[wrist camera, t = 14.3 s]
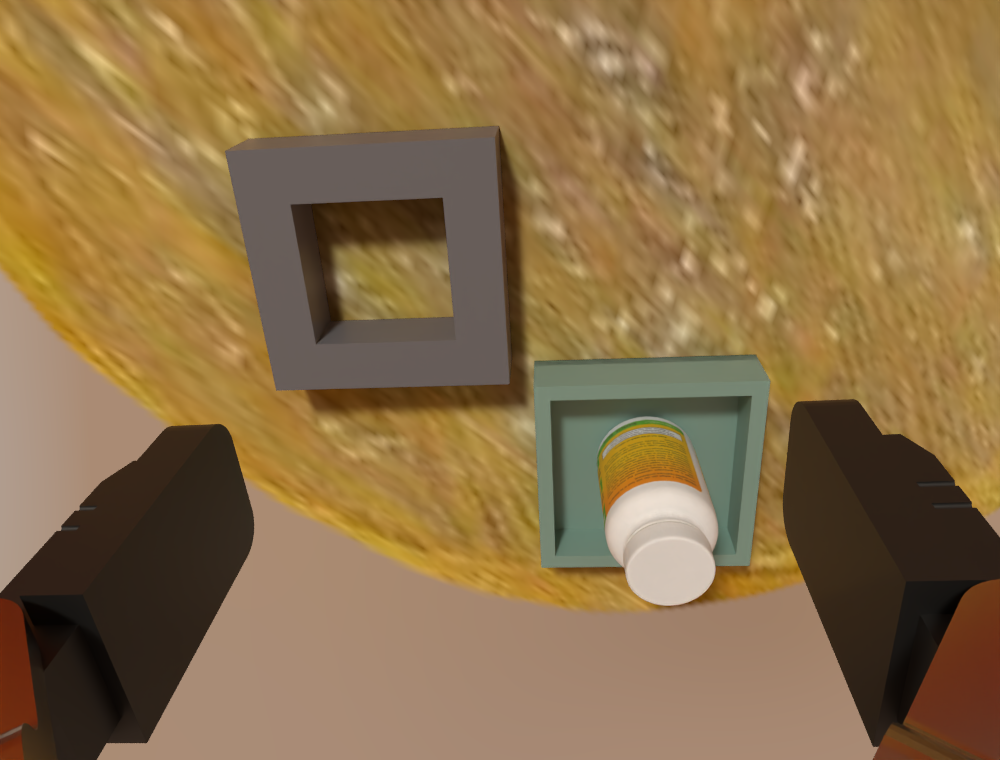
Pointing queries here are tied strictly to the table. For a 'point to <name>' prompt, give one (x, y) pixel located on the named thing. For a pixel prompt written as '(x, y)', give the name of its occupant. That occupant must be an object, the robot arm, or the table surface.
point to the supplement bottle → (657, 510)
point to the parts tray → (636, 393)
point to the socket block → (298, 271)
